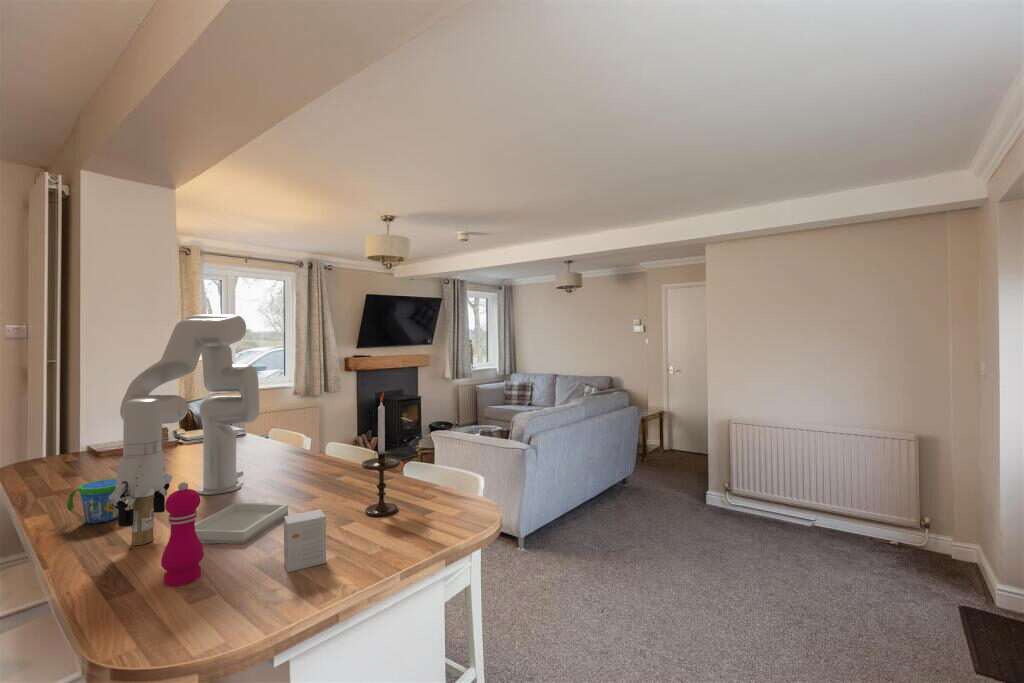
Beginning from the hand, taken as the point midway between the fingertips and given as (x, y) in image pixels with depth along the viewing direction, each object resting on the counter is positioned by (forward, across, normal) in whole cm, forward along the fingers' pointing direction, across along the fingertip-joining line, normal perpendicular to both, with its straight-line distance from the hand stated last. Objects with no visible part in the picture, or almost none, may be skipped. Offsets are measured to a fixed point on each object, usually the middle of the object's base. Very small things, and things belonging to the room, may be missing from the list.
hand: (142, 518), depth 115 cm
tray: (+6, -10, +18) cm, 21 cm away
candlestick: (+6, -24, +52) cm, 58 cm away
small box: (+6, +9, +46) cm, 47 cm away
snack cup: (+6, -14, -24) cm, 28 cm away
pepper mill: (+6, +17, +24) cm, 30 cm away
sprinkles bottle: (+6, 0, 0) cm, 6 cm away
